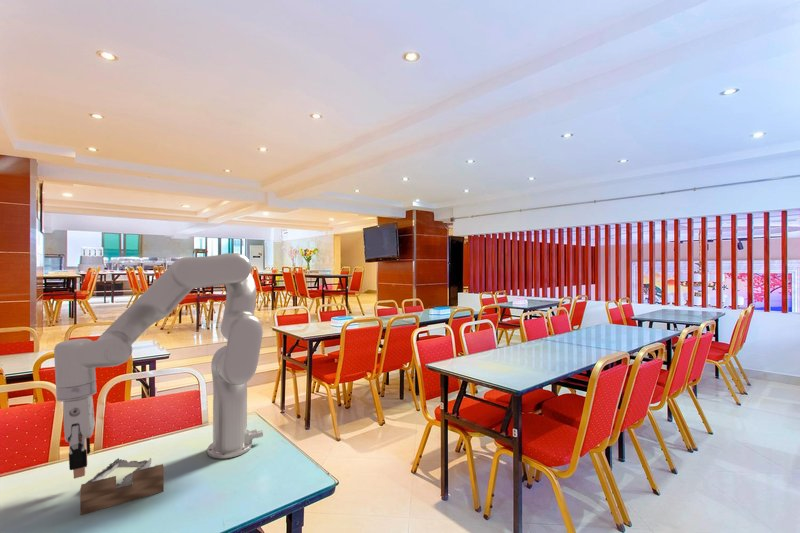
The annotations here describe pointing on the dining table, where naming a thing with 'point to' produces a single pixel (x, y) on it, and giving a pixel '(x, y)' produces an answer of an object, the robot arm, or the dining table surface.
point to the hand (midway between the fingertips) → (80, 460)
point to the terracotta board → (81, 471)
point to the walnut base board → (121, 489)
